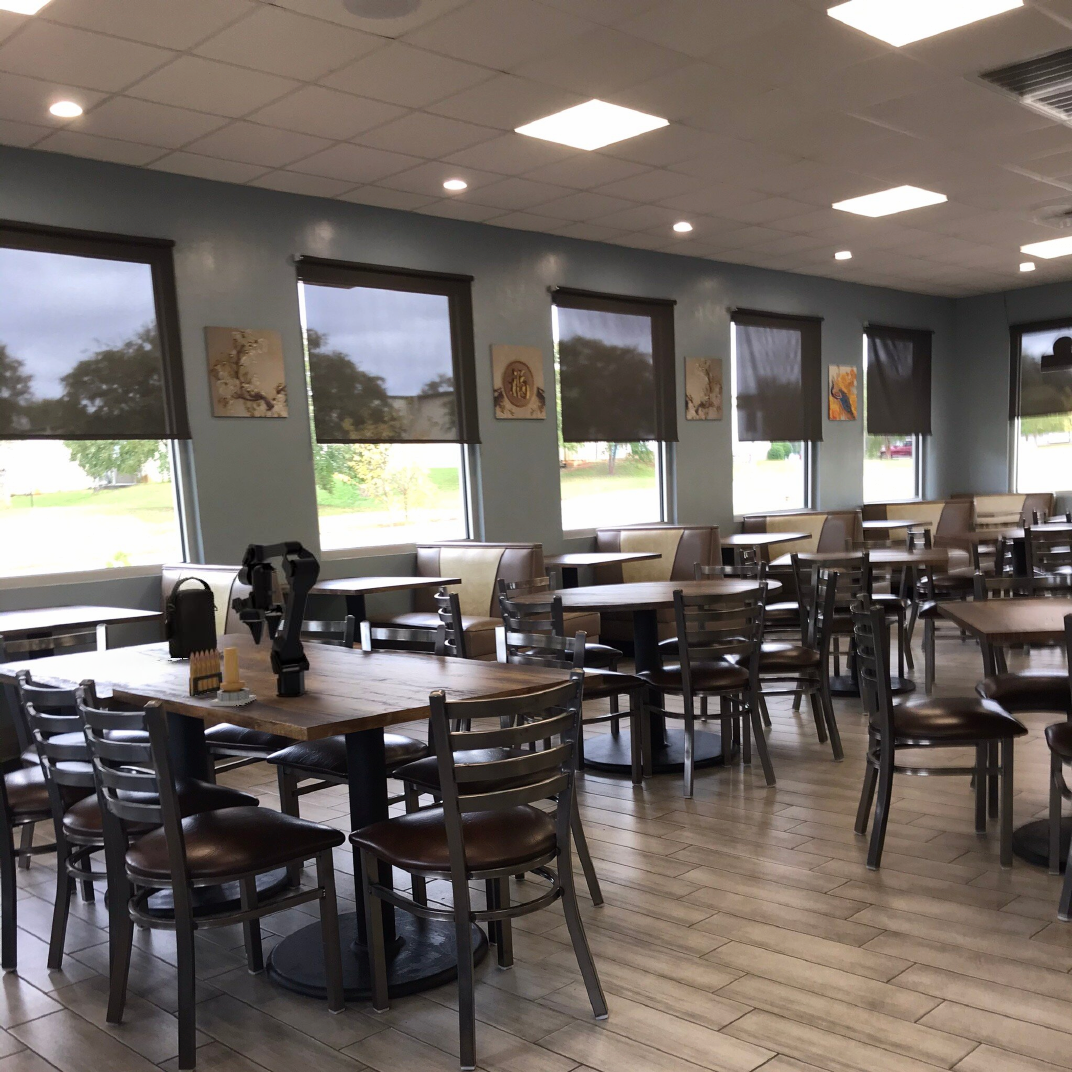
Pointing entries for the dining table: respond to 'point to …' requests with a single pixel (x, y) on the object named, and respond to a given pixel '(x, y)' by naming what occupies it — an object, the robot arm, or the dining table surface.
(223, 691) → the housing
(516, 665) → the dining table surface
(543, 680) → the dining table surface
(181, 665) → the dining table surface
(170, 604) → the shoulder bag
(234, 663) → the tan peg
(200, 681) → the ammunition clip
